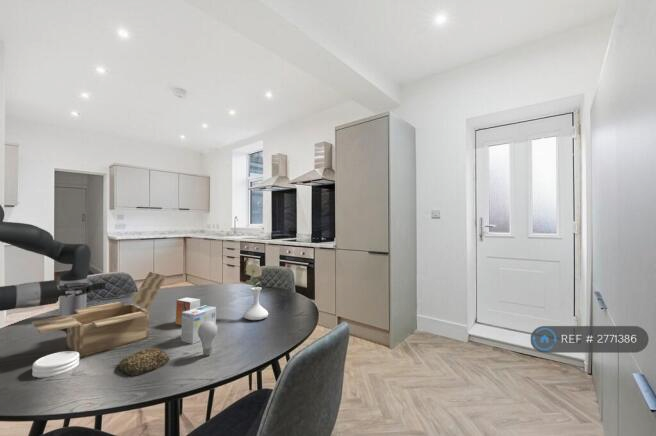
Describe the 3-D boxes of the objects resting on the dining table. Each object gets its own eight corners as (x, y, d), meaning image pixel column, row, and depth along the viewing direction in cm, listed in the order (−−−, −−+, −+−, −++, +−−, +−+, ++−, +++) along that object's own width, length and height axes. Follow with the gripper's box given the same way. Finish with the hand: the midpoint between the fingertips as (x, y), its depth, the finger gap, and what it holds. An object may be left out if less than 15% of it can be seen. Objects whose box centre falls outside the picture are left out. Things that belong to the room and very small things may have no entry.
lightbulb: (204, 361, 90) (205, 325, 90) (193, 356, 93) (193, 322, 93) (221, 353, 95) (221, 320, 95) (209, 349, 98) (210, 317, 98)
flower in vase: (273, 317, 133) (274, 263, 134) (255, 324, 124) (256, 266, 124) (253, 312, 140) (254, 261, 141) (235, 318, 131) (236, 263, 131)
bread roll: (127, 381, 78) (127, 362, 78) (115, 366, 86) (115, 349, 87) (176, 364, 88) (176, 347, 88) (161, 352, 96) (161, 337, 96)
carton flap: (131, 301, 116) (149, 271, 121) (133, 302, 116) (151, 272, 122) (146, 308, 107) (164, 275, 113) (148, 308, 108) (166, 276, 113)
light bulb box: (204, 331, 114) (204, 304, 115) (216, 334, 111) (217, 306, 112) (180, 341, 105) (180, 311, 105) (192, 344, 102) (193, 314, 102)
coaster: (23, 381, 77) (24, 368, 77) (43, 365, 86) (43, 353, 86) (70, 374, 81) (71, 362, 81) (84, 359, 90) (84, 348, 90)
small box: (175, 324, 122) (176, 299, 122) (186, 320, 127) (186, 296, 127) (189, 327, 119) (189, 301, 119) (199, 323, 124) (200, 298, 124)
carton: (27, 349, 96) (28, 317, 96) (126, 325, 119) (127, 300, 120) (42, 374, 81) (44, 336, 81) (154, 341, 104) (155, 312, 104)
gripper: (41, 284, 85) (111, 277, 99) (33, 279, 93) (99, 272, 107) (40, 310, 85) (110, 298, 99) (32, 302, 93) (98, 293, 106)
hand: (104, 285), depth 103 cm, fingers closed
